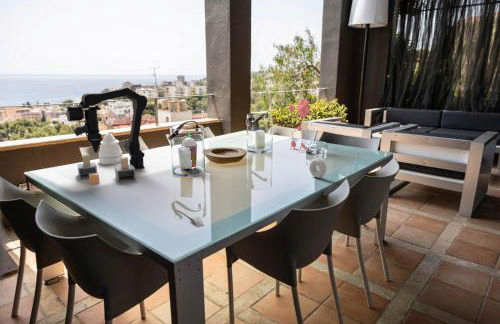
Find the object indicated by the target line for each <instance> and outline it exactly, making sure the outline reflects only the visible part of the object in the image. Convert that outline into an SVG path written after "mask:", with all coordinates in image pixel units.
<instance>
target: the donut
mask: <svg viewBox="0 0 500 324" xmlns="http://www.w3.org/2000/svg"><path fill="white" fill-rule="evenodd" d="M308 167H309V172H310V175H311V176H312V177H314V178H316V177H317V178H316V179H321V178H323V177H324V176H325V174H326V173H327V166H326V164H325V162H324V161H323V160H322V159H321V158H316V157H315V158H313V159H312V160H311V161H310V163H309V165H308ZM317 167H318V169H319V170H317Z"/></svg>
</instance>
